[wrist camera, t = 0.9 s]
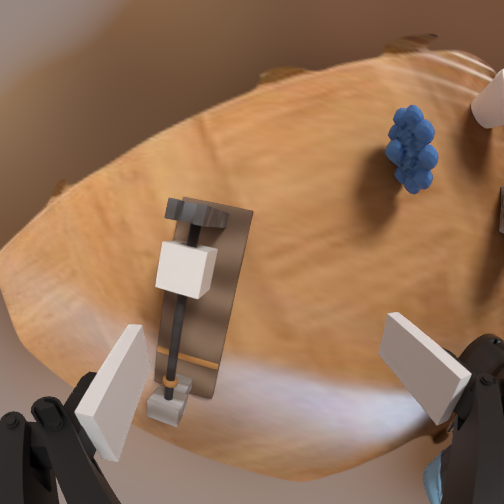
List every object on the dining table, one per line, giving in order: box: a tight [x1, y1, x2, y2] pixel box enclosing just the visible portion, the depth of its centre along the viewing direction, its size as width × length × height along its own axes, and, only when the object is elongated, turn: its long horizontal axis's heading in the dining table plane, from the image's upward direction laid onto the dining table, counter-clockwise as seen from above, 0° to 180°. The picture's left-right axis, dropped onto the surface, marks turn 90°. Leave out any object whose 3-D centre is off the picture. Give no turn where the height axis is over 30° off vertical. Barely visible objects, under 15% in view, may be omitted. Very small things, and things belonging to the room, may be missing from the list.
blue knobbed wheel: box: [385, 105, 439, 194], centre depth 30 cm, size 12×7×12 cm, turn 11°
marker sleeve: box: [155, 240, 218, 299], centre depth 30 cm, size 5×5×5 cm
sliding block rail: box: [147, 197, 253, 427], centre depth 33 cm, size 30×10×14 cm, turn 167°
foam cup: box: [471, 69, 504, 128], centre depth 26 cm, size 10×9×13 cm
